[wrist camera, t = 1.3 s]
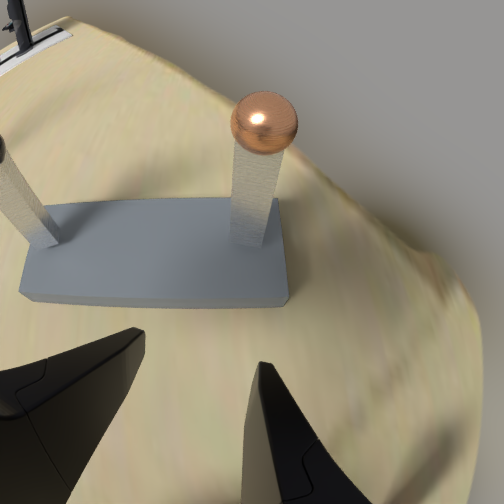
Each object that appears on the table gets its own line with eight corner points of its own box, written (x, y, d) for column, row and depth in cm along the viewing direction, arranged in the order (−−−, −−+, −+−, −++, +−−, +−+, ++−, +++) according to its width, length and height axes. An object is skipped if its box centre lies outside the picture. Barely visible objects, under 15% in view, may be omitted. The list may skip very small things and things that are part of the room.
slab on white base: (72, 36, 53) (60, -44, 28) (-5, 80, 43) (-29, 1, 18) (56, 25, 62) (46, -34, 37) (-3, 58, 53) (-20, 0, 28)
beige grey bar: (62, 250, 20) (-17, 144, 10) (33, 259, 20) (-51, 164, 9) (63, 219, 22) (-1, 111, 11) (35, 228, 21) (-34, 131, 10)
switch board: (282, 306, 24) (289, 296, 21) (32, 301, 21) (18, 291, 19) (273, 214, 28) (277, 198, 26) (52, 219, 25) (42, 205, 23)
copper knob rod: (263, 259, 22) (301, 123, 11) (221, 249, 22) (223, 108, 11) (271, 223, 23) (306, 88, 12) (231, 214, 23) (241, 75, 12)
